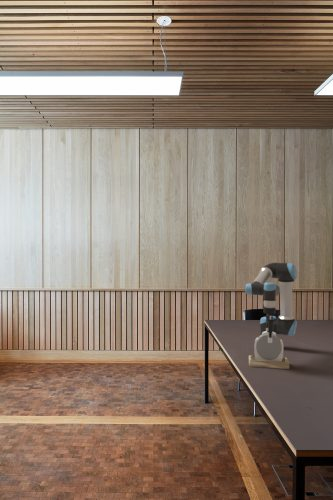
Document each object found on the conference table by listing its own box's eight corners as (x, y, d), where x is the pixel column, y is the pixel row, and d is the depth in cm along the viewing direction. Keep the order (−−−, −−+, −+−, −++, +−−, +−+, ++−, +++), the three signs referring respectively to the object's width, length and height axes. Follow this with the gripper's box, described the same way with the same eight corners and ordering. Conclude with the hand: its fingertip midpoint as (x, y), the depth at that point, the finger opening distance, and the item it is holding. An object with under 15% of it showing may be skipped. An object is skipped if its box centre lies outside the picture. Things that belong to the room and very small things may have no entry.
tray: (248, 361, 280) (248, 355, 280) (286, 363, 276) (286, 357, 276) (249, 366, 267) (249, 360, 267) (289, 368, 263) (289, 362, 263)
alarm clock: (283, 363, 273) (283, 331, 274) (283, 366, 265) (283, 333, 265) (254, 360, 278) (255, 329, 278) (253, 363, 270) (254, 331, 270)
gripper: (262, 304, 285) (261, 336, 285) (265, 309, 260) (264, 344, 260) (273, 304, 284) (273, 336, 284) (277, 310, 259) (277, 345, 259)
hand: (269, 340), depth 272 cm, fingers open, 13 cm apart
